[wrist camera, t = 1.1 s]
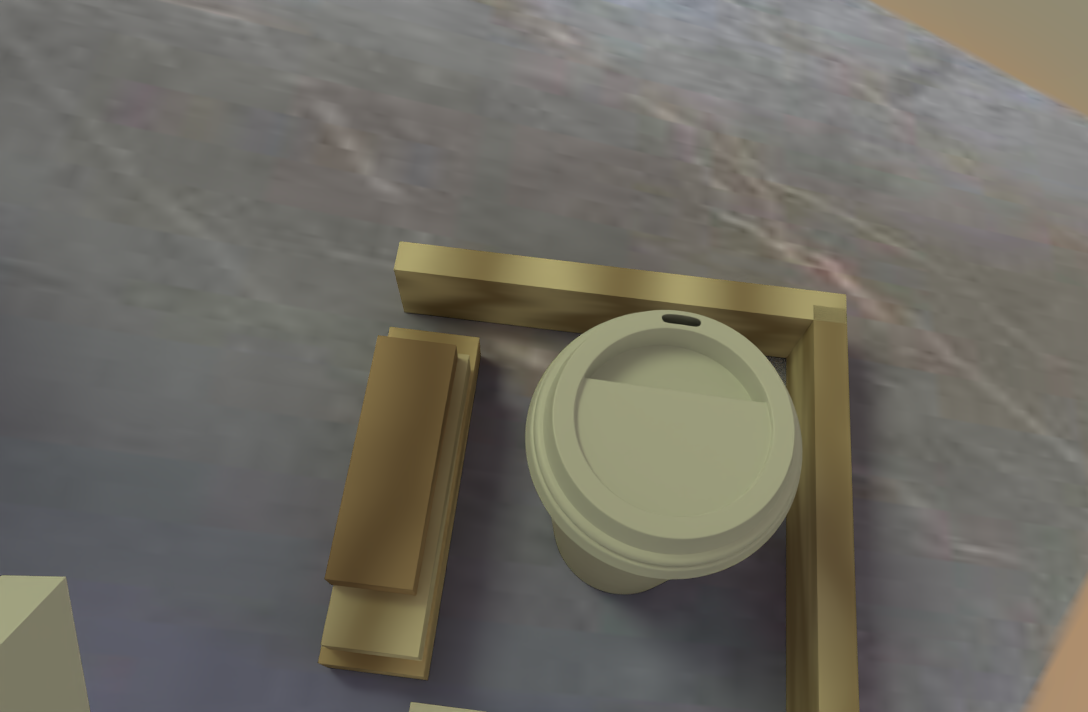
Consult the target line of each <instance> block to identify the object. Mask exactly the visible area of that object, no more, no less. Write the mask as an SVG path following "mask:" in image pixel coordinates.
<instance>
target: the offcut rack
mask: <svg viewBox="0 0 1088 712" xmlns="http://www.w3.org/2000/svg"><path fill="white" fill-rule="evenodd" d="M394 272H395V276H396V280H397V284H398V288H399V292H400V296H401V300H402V304H403V308H404V312H409V313H417V314H425V315H433V316H442V317H450V318H458V319H467V320H475V321H483V322H491V323H500V324H508V325H516V326H525V327H533V328H541V329H549V330H558V331H566V332H574V333H582V334H583V333H585V332H586V331H588V330H589V329H591V328H593V327H595V326H597V325H599V324H601V323H604V322H606V321H608V320H611V319H614V318H617V317H620V316H623V315H627V314H632V313H638V312H645V311H653V310H676V311H684V312H690V313H695V314H699V315H702V316H705V317H708V318H711V319H714V320H716V321H718V322H721V323H723V324H725V325H727V326H728V327H730V328H732V329H734V330H735V331H737V332H738V333H740V334H741V335H743V336H744V337H745V338H747V339H748V340H749V341H750V342H752V343H753V344H754V345H755V346H756V347H757V348H758V349H759V350H760V351H761V352H762V353H763V354H764V355H765V356H773V357H781V358H786V388H787V390H788V392H789V394H790V397H791V399H792V401H793V404H794V407H795V410H796V413H797V416H798V420H799V424H800V429H801V436H802V467H801V474H800V479H799V484H798V488H797V492H796V495H795V498H794V500H793V503H792V505H791V507H790V509H789V511H788V513H787V515H786V712H859V687H858V656H857V625H856V594H855V563H854V532H853V500H852V469H851V438H850V407H849V376H848V345H847V314H846V295H845V294H836V293H828V292H820V291H811V290H803V289H794V288H786V287H778V286H769V285H761V284H753V283H744V282H736V281H727V280H719V279H711V278H702V277H694V276H685V275H677V274H669V273H660V272H652V271H644V270H635V269H627V268H618V267H610V266H602V265H593V264H585V263H576V262H568V261H560V260H551V259H543V258H535V257H526V256H518V255H509V254H501V253H493V252H484V251H476V250H467V249H459V248H451V247H442V246H434V245H426V244H417V243H409V242H400V244H399V248H398V253H397V257H396V262H395V266H394Z"/></svg>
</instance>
